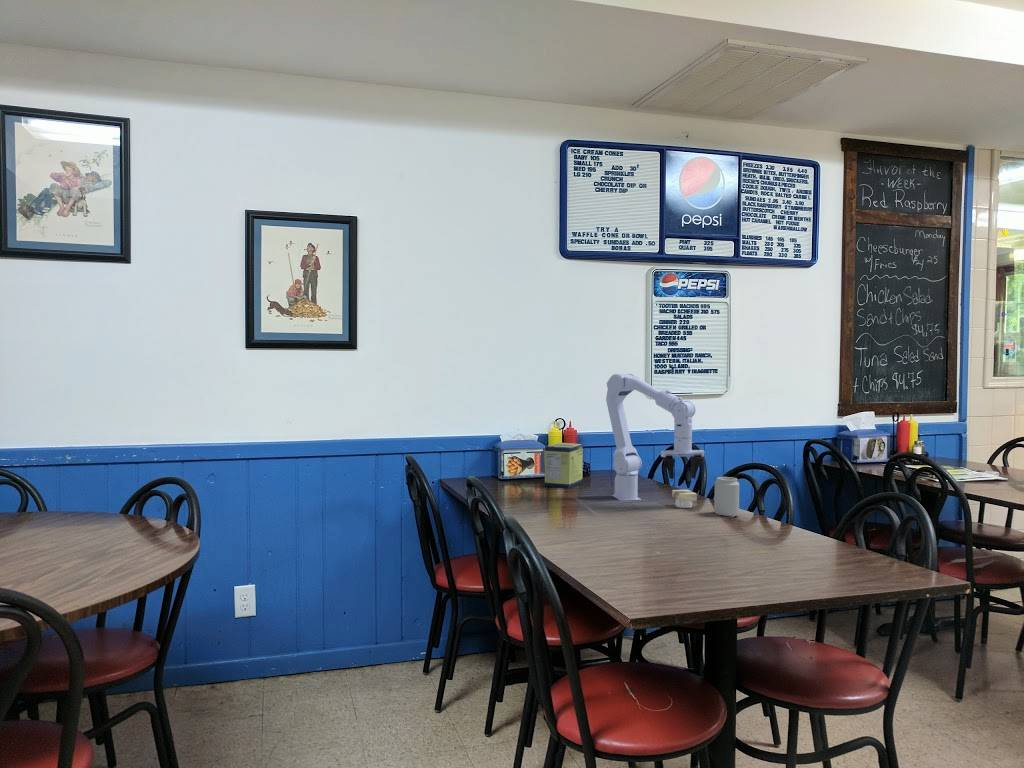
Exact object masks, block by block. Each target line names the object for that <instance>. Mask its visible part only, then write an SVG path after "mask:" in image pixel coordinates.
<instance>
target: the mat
mask: <svg viewBox="0 0 1024 768" xmlns="http://www.w3.org/2000/svg"><path fill="white" fill-rule="evenodd" d="M630 504H631V505H633V506H634V507H636V508H637V509H639V510H641V511H651V510H653V511H655V510H657V511H658V510H668V508H667V507H666V506H663V505H662V504H660V503H658V502H656V501H645V502H643V501H642V502H641V501H640V502H630Z"/></svg>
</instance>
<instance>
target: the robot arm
mask: <svg viewBox="0 0 1024 768" xmlns="http://www.w3.org/2000/svg"><path fill="white" fill-rule="evenodd" d="M606 387H607V392H606V398H605V400H606V405H607V410H608V415H609V419H610V423H611V424H610V425H611V430H612V434H613V439H614V443H615V447H616V449H615V450H614V452H613V454H612V456H613V461H612V462H613V463H612V466H613V467H612V468H613V469H614V471H615V472H616V473H615V474H616V475H615V478H614V494H611V496H612V497H614V498H616V499H617V500H619V501H635V500H636V501H637V500H640V501H641V500H642V499H641V498H640V497H638V496H639V495H638V494H639V493H638V490H639V489H638V483H639V482H638V481H639V480H638V479H639V478H638V474H639V471H640V469H642V465H643V462H642V458H641V457H640V456H639V454H638V450H637V448H635V447H634V445H633V444H632V440H631V434H630V430H629V426H628V422H627V418H626V413H625V408H624V403H623V402H624V401H625V398H627V396H628V395H630V394H632V392H634V391H637V392H639V393H641V394H643V395H645V396H647V397H649V398H651V399H653V400H654V402H655V404H656V406H657V407H660V408H661V409H663V410H665V411H667V412H668V413H670V414H671V415H672V417H673V419H674V427H673V428H674V430H673V431H674V432H673V433H674V434H673V436H674V438H673V439H674V440H673V449H668V450H661V451H660V457H661V458H662V460H663V462H664V464H665V466H666V469H667V473H668V478H669V479H671V480H674V479H675V478H674V476H675V474H674V473H675V471H674V470H675V469H674V468H675V463H676V460H675V458H676V457H677V458H679V457H681V458H683V457H689V459H690V460H689V461H690V478H691V479H693V480H694V479H696V478H697V477H696V476H697V474H698V469H699V467H700V465H701V463H702V462H703V459H704V458H703V457H705V450H703V449H692V448H693V446H692V444H693V417H694V416H695V413H696V407H695V404H694V403H693V402H692V401H691V400H684V399H683V398H682V396H679V397H678V396H677V395H675V394H673V393H672V391H671V390H669V389H666V390H665V389H664V390H663V389H662V390H661V391H660V390H658V389H657V388H656V387H654V386H652V385H651V384H649V383H648V382H646V381H644V380H643V379H641V377H639V376H637V375H636V376H635V375H634V374H633V373H625V374H624V373H623V374H618V373H615V374H612V375H611V376H610V377H609V378H608V380H607V382H606Z"/></svg>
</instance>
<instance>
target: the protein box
mask: <svg viewBox="0 0 1024 768" xmlns="http://www.w3.org/2000/svg"><path fill="white" fill-rule="evenodd" d="M583 445H584V444H583V443H574V442H573V443H569V442H556V443H553V444H550V445H545V446H544V487H548V486H551V488H561V489H562V488H564V489H571V488H573V487H575V486H577V484H578V485H580V484H582V483H583V471H584V470H583V467H584V466H583V460H584V459H583V457H584V455H583V453H584V452H583V450H584V447H583ZM581 482H582V483H581ZM579 483H580V484H579ZM570 487H571V488H570Z"/></svg>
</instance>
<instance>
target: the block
mask: <svg viewBox="0 0 1024 768" xmlns="http://www.w3.org/2000/svg"><path fill="white" fill-rule="evenodd" d="M671 495H672V496H671V498H673V499H675V500H676V499H677V500H679V501H692V502H697V501H698V500H697V499H698V493H696V492H694V491H691V490H689V489H672V492H671Z"/></svg>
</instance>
